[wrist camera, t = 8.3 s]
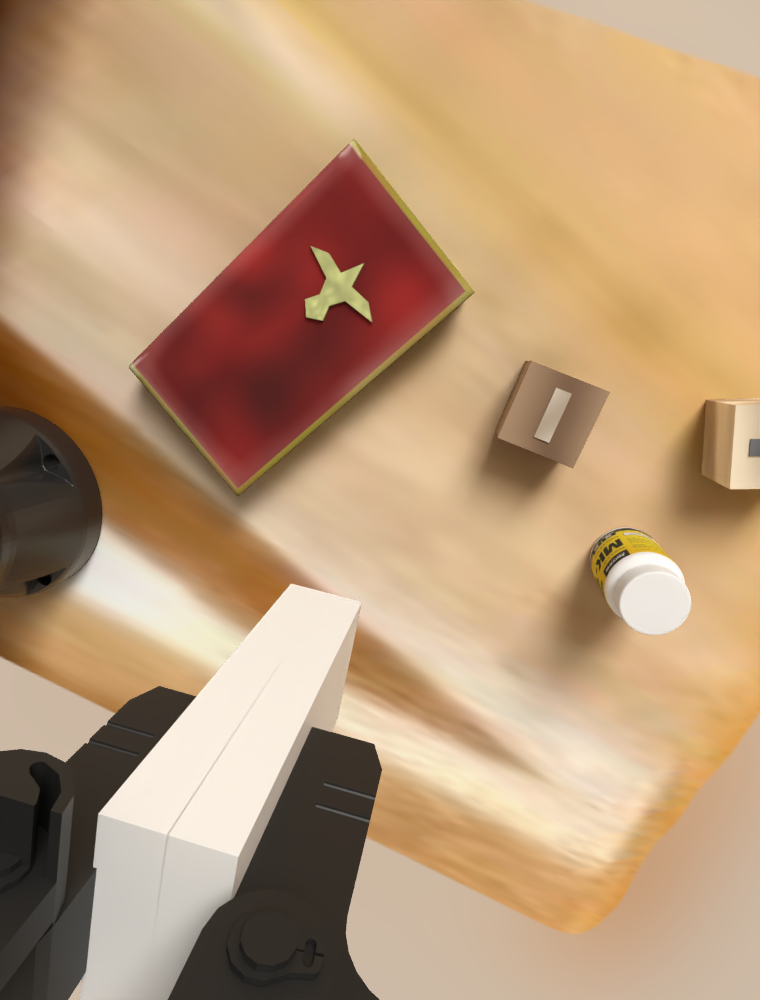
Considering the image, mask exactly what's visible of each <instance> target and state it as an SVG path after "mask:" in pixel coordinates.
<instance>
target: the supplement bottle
mask: <svg viewBox="0 0 760 1000" xmlns="http://www.w3.org/2000/svg"><path fill="white" fill-rule="evenodd" d="M590 567H591V570H592V573H593V575H594V577H595V579H596V581H597V583H598V585H599V587H600V589H601V591H602V593H603V595H604V597H605V599H606V601H607V603H608V605H609V607H610V608H611V609H612V610H613V612H614V613H615V614H616V615H617V616H619V617H620V618H622V619H623V620H624V621H625V622H626V624H627V625H628V626H630V627H631V628H632V629H634V630H636V631H638V632H640V633H643V634H647V635H661V634H666V633H668V632H671V631H673V630H675V629H676V628H678V627H679V626H680V625H681V624H682V623H683V622H684V621H685V620H686V618H687V616H688V614H689V611H690V608H691V597H690V593H689V591H688V589H687V587H686V585H685V580H684V576H683V574H682V572H681V570H680V569H679V567H678V566H677V565H676V563H675V562H674V561H673V560H672V559H671V558H670V557H669V556H668V555H667V554H666V553H665V551H664V550H663V549H662V548H661V547H660V546H659V545H658V544H657V543H656V542H655V541H654V540H653V538H652V537H650V536H649V535H648V534H647V533H645V532H643V531H641V530H639V529H636V528H631V527H620V528H615V529H612V530H610V531H608V532H606V533H604V534H603V535H602V536H601V537H600V538H599V539H598V540H597V541H596V542H595V544H594V546H593V548H592V550H591V554H590Z"/></svg>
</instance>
